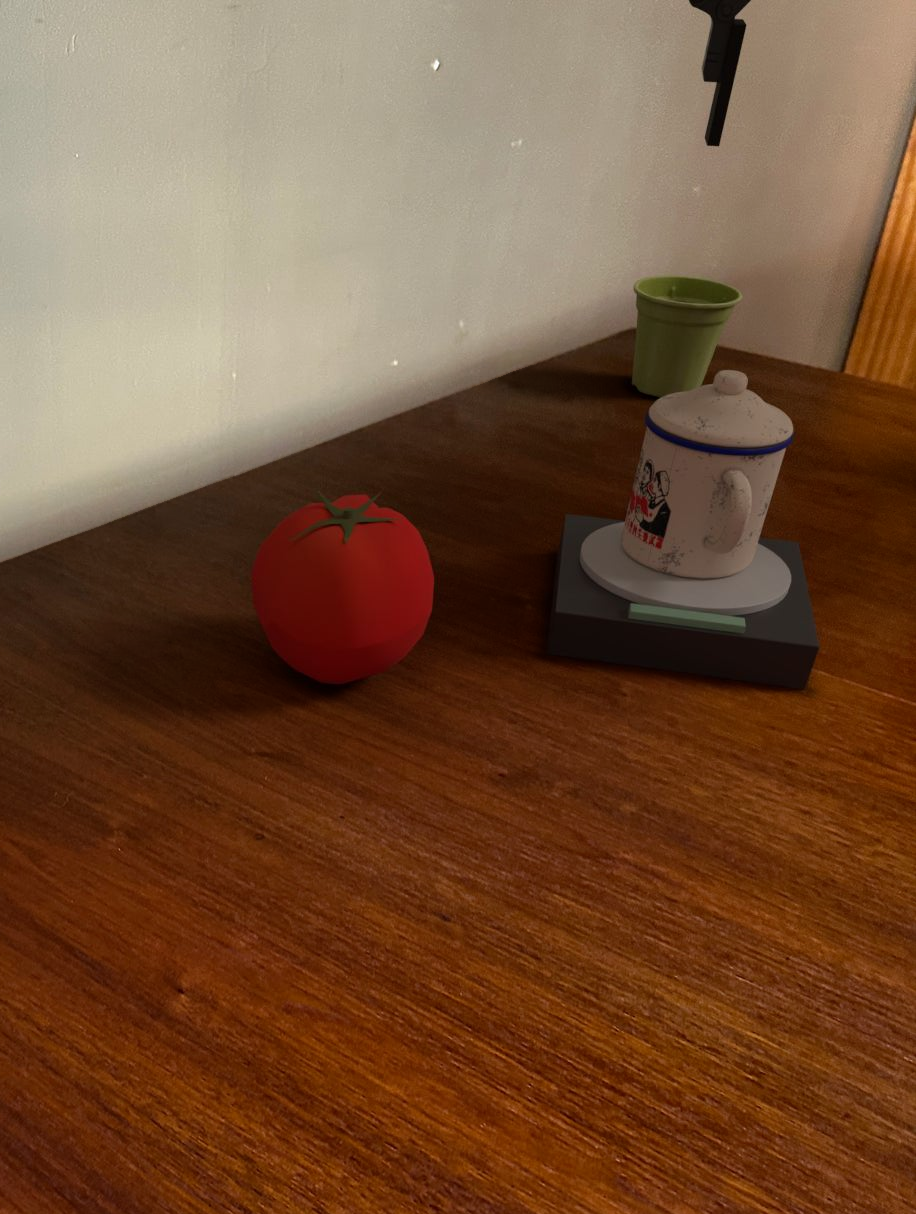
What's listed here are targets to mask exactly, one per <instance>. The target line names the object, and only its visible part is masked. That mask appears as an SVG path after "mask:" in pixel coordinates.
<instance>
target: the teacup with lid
mask: <svg viewBox="0 0 916 1214" xmlns="http://www.w3.org/2000/svg"><path fill="white" fill-rule="evenodd" d="M748 382H749V378H748V376H747V374H746V373H744V372H742V371H738V370H735V369H722V370H719V371H718V372H717V373H716V374H715V375H714V378H713V382H712V383H710V384H702V385H701V386H700V387H697V388H695V389H693V390H691V391H685V392H678V393H672V394H669V395H666V396H663V397H661V398H660V397H658V399H656V400H655V401H654V402H653V403H652V404H651V406H650V407H649V409H648V411H647V412H646V414H645V417H644V422H645V426H646V430H645V433H644V437H643V442H642V446H641V451H640V455H639V459H638V463H637V466H636V467H637V468H636V470H635V471H636V472H635V477H634V480H633V485H632V489H631V493H630V497H629V502H628V506H627V510H626V515H625V519H624V521H625V523H624V527H623V531H622V535H621V543H622V546H623V548H624V550H625V551H626V553H627V554H628V555H629V556H631V557H632V558H633V559H634V560H636V561H637V562H639V563H641V564H643V565H645V566H647V567H649V568H652V569H654V570H657V571H660V572H664V573H667V574H672V575H676V576H682V577H690V578H720V577H726V576H730V575H734V574H736V573H739V572H741V571H743V570H744V569H745V568H747V567H748V566H749V565H750V563H751V562H752V559H753V557H754V553H755V550H756V547H757V543H758V540H759V538H761V534H762V530H763V526H764V523H765V520H766V516H767V513H768V509H769V506H770V504H771V500H772V496H773V493H774V490H775V487H776V483H777V480H778V477H779V473H780V470H781V466H782V463H783V460H784V457H785V453H786V450H787V448H788V447H789V446H790V445H791V444H792V443H793V440H794V438H795V437H794V436H795V435H794V425H793V422H792V419H791V418H790V417H789V416H788V414H786V413H785V411H783V410H782V409H780V408H778V407H776V406H775V405H773V404H770V403H768V402H765V401H764V400H763V398H761V396H759V395H758V394H757V393H755V392H754V391H752V390H750V389H748V388H747V387H748Z"/></svg>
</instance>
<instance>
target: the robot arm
mask: <svg viewBox="0 0 916 1214" xmlns="http://www.w3.org/2000/svg"><path fill="white" fill-rule="evenodd" d="M688 2H689V5H691V7H692V8H695V9H698V10H700V11H701V12H703V13H705V14H707V15H708V16H709V17H710V27H709V31H708V37H707V41H706V46H705V51H704V56H703V60H702V65H701V75H702V79H703V82H704V83H716V84H715V88H714V93H713V97H712V100H711V101H712V102H711V106H710V111H709V116H708V119H707V125H706V129H705V134H704V140H705V144H706V146H707V147H720V145H721V140H722V136H723V131H724V127H725V123H726V118H727V114H728V109H729V105H730V101H731V97H732V91H733V87H734V83H735V78H736V75H737V74H736V73H737V69H738V65H739V61H740V56H741V51H742V47H743V42H744V39H745V35H746V29H747V23H746V21H745V20H744V19H743V18H736V17H737V16H738V14H739V13H740V12H742V10H744V8H745V7H746V6H747V5H748V4H749V3H750V2H752V0H688Z"/></svg>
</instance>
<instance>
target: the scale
mask: <svg viewBox="0 0 916 1214" xmlns="http://www.w3.org/2000/svg"><path fill="white" fill-rule="evenodd" d="M624 523H625V520H620V519H613V518H612V519H611V518H603V517H595V516H588V515H587V516H586V515H580V514H579V515H578V514H571V513H565V515H564V519H563V524H562V530H561V534H560V539H559V544H558V548H557V553H556V554H557V555H556V564H555V573H554V582H553V591H552V599H551V610H550V617H549V628H548V634H547V635H548V636H547V647H546V654H547V655H551V656H552V655H553V656H560V657H564V658H565V657H566V658H574V659H580V660H581V659H582V660H588V661H595V662H601V663H609V664H616V665H624V666H631V667H638V668H645V669H646V668H647V669H652V670H661V671H667V672H675V673H680V674H687V675H689V674H690V675H695V676H696V675H697V676H703V677H710V678H718V679H725V680H732V681H740V682H747V683H754V684H759V685H769V686H776V687H781V688H782V687H783V688H789V689H798V690H806V687H807V685H808V682H809V678H810V676H811V673H812V670H813V668H814V665H815V663H816V659H817V656H818V653H819V650H820V643H819V638H818V632H817V628H816V623H815V618H814V613H813V608H812V604H811V599H810V594H809V589H808V584H807V579H806V574H805V569H804V564H803V559H802V555H801V554H802V553H801V549H800V544H799V542H798V541H791V540H783V539H775V538H766V537H759V540H758V543H757V547H756V550H755V553H754V557H753V559H752V562H751V563H750V565H749V566H748V567H747V568H745V569H744V570H743V571H741V572H739V573H736V574H734V575H730V576H726V577H720V578H690V577H682V576H676V575H672V574H667V573H664V572H660V571H657V570H654V569H652V568H649V567H647V566H645V565H643V564H641V563H639V562H637V561H636V560H634V559H633V558H632V557H631V556H629V555H628V554H627V553H626V551H625V550H624V548H623V546H622V543H621V535H622V531H623V527H624Z"/></svg>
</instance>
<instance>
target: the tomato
mask: <svg viewBox="0 0 916 1214" xmlns="http://www.w3.org/2000/svg"><path fill="white" fill-rule="evenodd" d="M315 492H316V493H317V495H318V496H319V497H320V499H321V501H322V502H311V503H309V504H307V505H305V506H303V507H301V508H299V509H297V510H296V511H294V512H292V513H290V514H289V515H287V516H285V517H284V518H283V520H282V521H281V522H279V523H278V524H277V526H275V528H274V529H273V530H272V531H271V533H270V534H268V536H267V537H266V539H265V540H264V541H263V542H262V543H261V544H260V546H259V548H258V550H257V553H256V556H255V558H254V561H253V564H252V568H251V570H250V586H251V593H252V601H253V608H254V611H255V613H256V615H257V618H258V620H259V623H260V624H261V627H262V629H263V631H264V633H265V636H266V638H267V640H268V643H269V644H270V647H271V648H272V650H273V651H274V652H275V653H276V655H278V657H279V658H280V659H282V660H283V661H284V662H285V663H286V664H287V665H289V667H291V668H292V669H293V670H294V671H297V672H299V673H301V674H303V675H305V676H307V677H309V678H311V679H313V680H315V681H316V682H319V683H322V684H331V685H339V686H340V685H343V684H347V683H351V682H354V681H358V680H360V679H364V678H369V677H373V676H375V675H379V674H382V673H383V672H386V671H387V670H390V668H392V667H393V666H395V665H396V664H398V663H399V662H400V661H402V660H404V658H405V657H406V656H407V655H408V654H409V652H410V651H411V650H412V649H413V648H414V646H415V645H416V644H417V643H418V642H419V640H420V639H421V638H422V637H423V635H424V633H425V630H426V628H427V625H428V622H429V619H430V617H431V614H432V612H433V603H434V588H435V575H434V571H433V567H432V563H431V559H430V554H429V551H428V549H427V546H426V544H425V542H424V540H423V537H422V536H421V533H420V531H419V530H418V529H417V528H416V527H415V526H414V524H412V522H410V520H409V519H408V518H407V517H405V515H403V514H402V513H400V512H398V511H395V510H394V509H392V508H390V507H379V506H378V505H377V504H376V503H375V501H376V500H377V498H378V497H379V496H380V495H381V494H382V491H380V492H378V493H377V494H376V495H375V496H373V497H372V498H370V497H369V496H368V495H367V494H349V495H347V494H346V495H345V494H344V495H342V496H340V497H339V498H338V499H335V500H334V501H333V502H331V501H330V500H329V499H328V498H326V496H324V494H323V493H322V492H321V491H319V490H315Z"/></svg>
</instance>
